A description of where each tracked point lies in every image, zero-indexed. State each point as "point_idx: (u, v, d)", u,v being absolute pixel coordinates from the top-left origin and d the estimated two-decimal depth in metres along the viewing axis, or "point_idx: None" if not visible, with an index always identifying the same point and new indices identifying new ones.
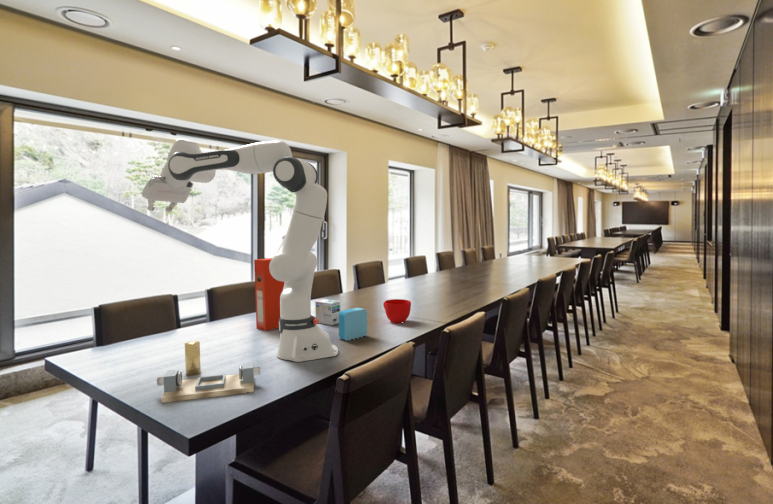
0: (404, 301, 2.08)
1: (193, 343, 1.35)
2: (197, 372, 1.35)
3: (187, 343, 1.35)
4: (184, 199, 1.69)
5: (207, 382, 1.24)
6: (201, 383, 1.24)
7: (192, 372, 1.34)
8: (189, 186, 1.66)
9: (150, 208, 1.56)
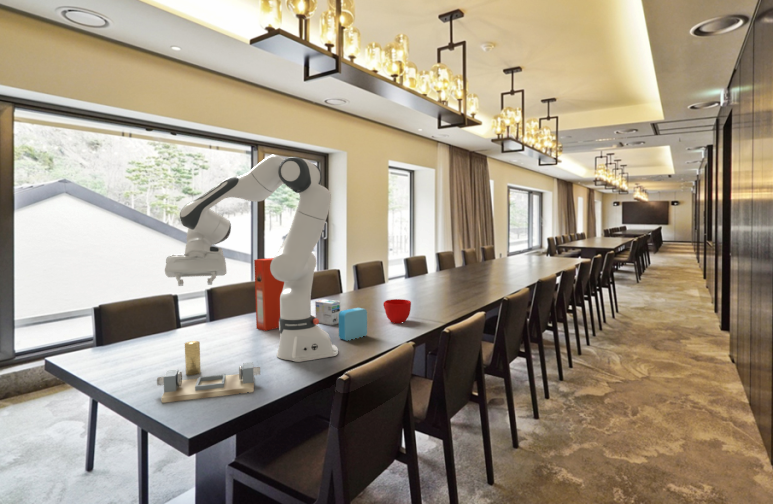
0: (404, 301, 2.08)
1: (193, 343, 1.35)
2: (197, 372, 1.35)
3: (187, 343, 1.35)
4: (221, 266, 1.51)
5: (207, 382, 1.24)
6: (201, 383, 1.24)
7: (192, 372, 1.34)
8: (215, 250, 1.54)
9: (178, 282, 1.45)
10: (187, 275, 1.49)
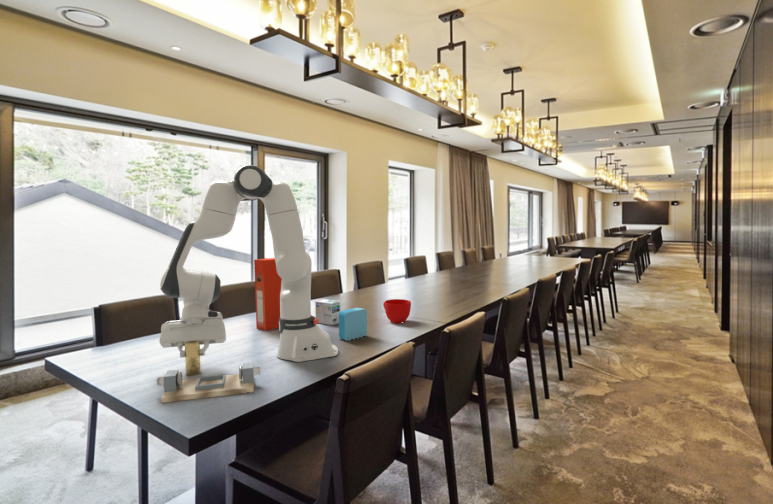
0: (404, 301, 2.08)
1: (193, 343, 1.35)
2: (197, 372, 1.35)
3: (187, 343, 1.35)
4: (220, 333, 1.41)
5: (207, 382, 1.24)
6: (201, 383, 1.24)
7: (192, 372, 1.34)
8: (214, 315, 1.43)
9: (180, 353, 1.35)
10: (184, 344, 1.38)
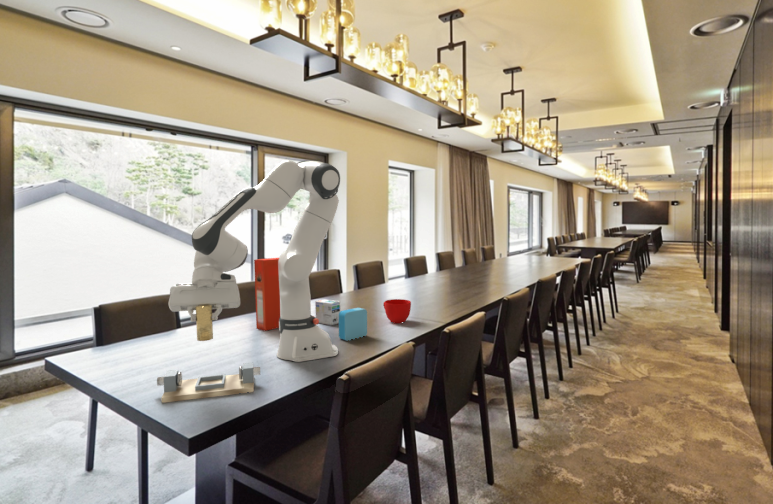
0: (404, 301, 2.08)
1: (205, 306, 1.24)
2: (209, 338, 1.24)
3: (198, 306, 1.24)
4: (234, 297, 1.29)
5: (207, 382, 1.24)
6: (201, 383, 1.24)
7: (204, 337, 1.23)
8: (227, 278, 1.31)
9: None
10: (195, 308, 1.27)
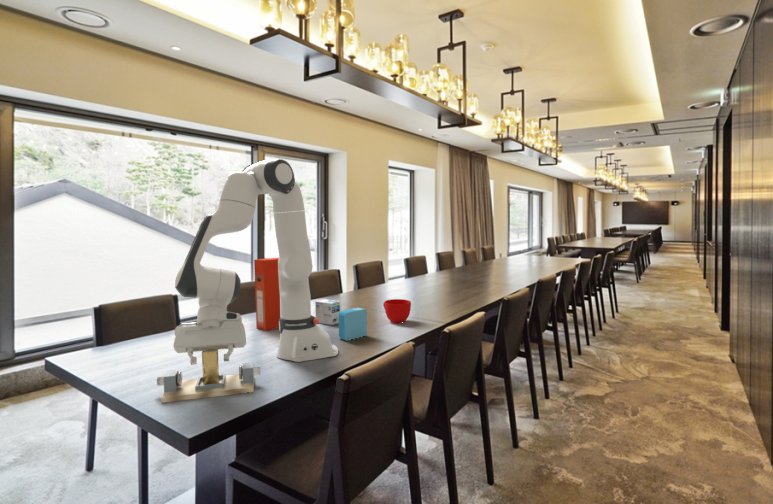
0: (404, 301, 2.08)
1: (211, 351, 1.22)
2: (215, 383, 1.22)
3: (204, 351, 1.22)
4: (240, 337, 1.27)
5: None
6: (201, 383, 1.24)
7: (210, 383, 1.21)
8: (233, 317, 1.29)
9: (190, 360, 1.21)
10: (200, 349, 1.25)
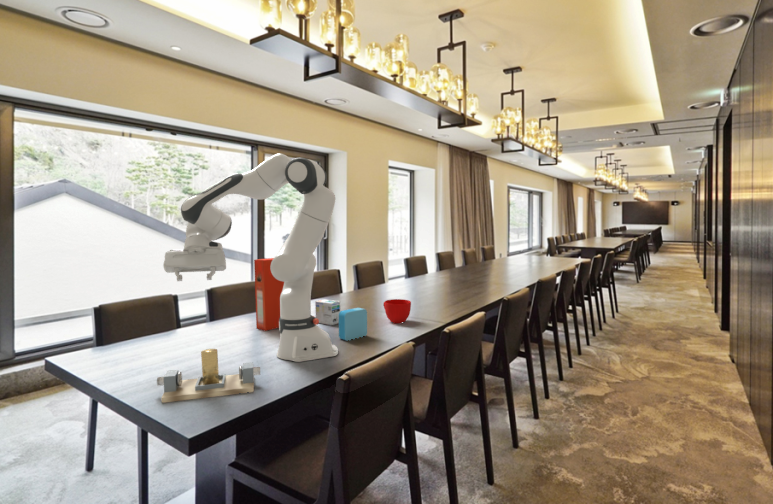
0: (404, 301, 2.08)
1: (210, 351, 1.22)
2: (216, 383, 1.22)
3: (204, 351, 1.22)
4: (220, 261, 1.49)
5: None
6: (201, 383, 1.24)
7: (211, 383, 1.21)
8: (214, 245, 1.51)
9: (177, 277, 1.43)
10: (186, 270, 1.47)
